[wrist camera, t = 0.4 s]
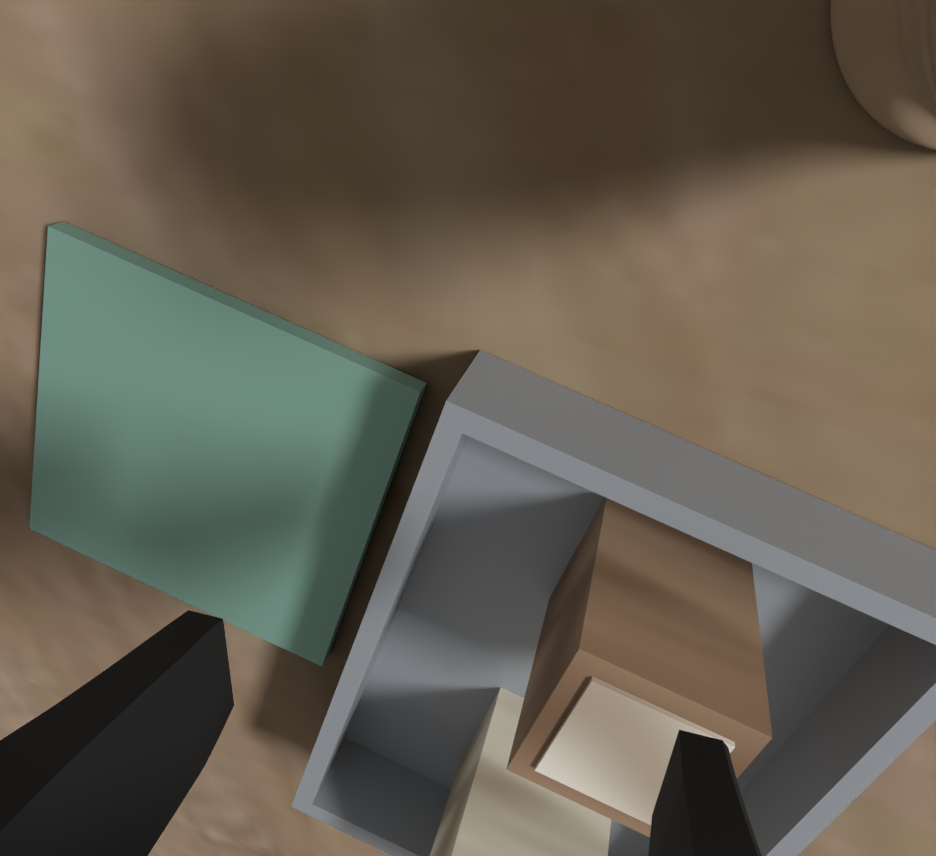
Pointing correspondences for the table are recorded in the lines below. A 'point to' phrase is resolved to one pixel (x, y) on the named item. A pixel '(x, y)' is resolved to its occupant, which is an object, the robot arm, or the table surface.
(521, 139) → the table surface
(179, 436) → the mat
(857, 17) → the beer glass
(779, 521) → the tray
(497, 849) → the birch block
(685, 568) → the walnut block
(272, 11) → the table surface
